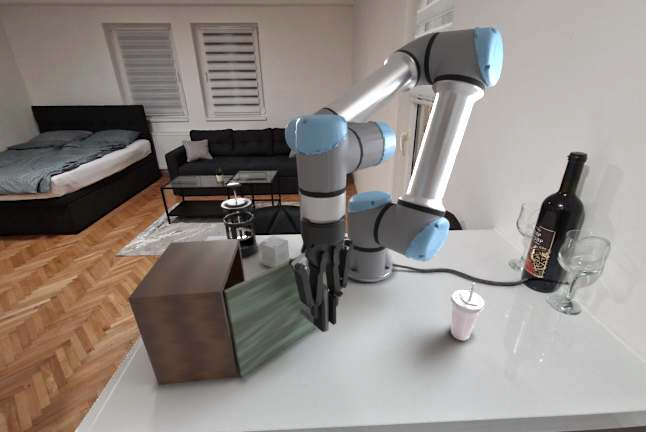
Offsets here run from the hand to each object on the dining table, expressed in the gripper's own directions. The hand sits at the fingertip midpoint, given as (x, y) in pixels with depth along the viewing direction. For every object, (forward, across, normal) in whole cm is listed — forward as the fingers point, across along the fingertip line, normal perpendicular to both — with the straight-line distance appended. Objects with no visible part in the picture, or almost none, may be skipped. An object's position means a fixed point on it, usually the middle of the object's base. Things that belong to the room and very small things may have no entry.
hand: (325, 323), depth 59 cm
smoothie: (+8, -25, +16) cm, 31 cm away
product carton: (+8, -10, -36) cm, 38 cm away
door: (+7, +7, -3) cm, 10 cm away
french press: (+8, -6, -50) cm, 50 cm away
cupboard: (+8, +17, -18) cm, 26 cm away
